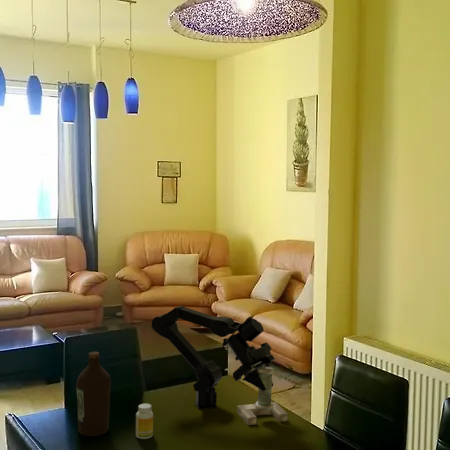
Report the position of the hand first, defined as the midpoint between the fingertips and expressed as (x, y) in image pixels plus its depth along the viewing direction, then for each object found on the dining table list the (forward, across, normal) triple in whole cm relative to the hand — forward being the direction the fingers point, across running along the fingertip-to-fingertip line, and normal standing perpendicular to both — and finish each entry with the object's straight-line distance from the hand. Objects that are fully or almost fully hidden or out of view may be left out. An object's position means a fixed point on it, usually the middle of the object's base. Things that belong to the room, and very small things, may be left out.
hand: (268, 388), depth 199 cm
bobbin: (+4, 0, +6) cm, 7 cm away
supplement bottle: (-9, -34, +25) cm, 43 cm away
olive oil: (-20, -41, +36) cm, 58 cm away
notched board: (+6, +2, +10) cm, 12 cm away
